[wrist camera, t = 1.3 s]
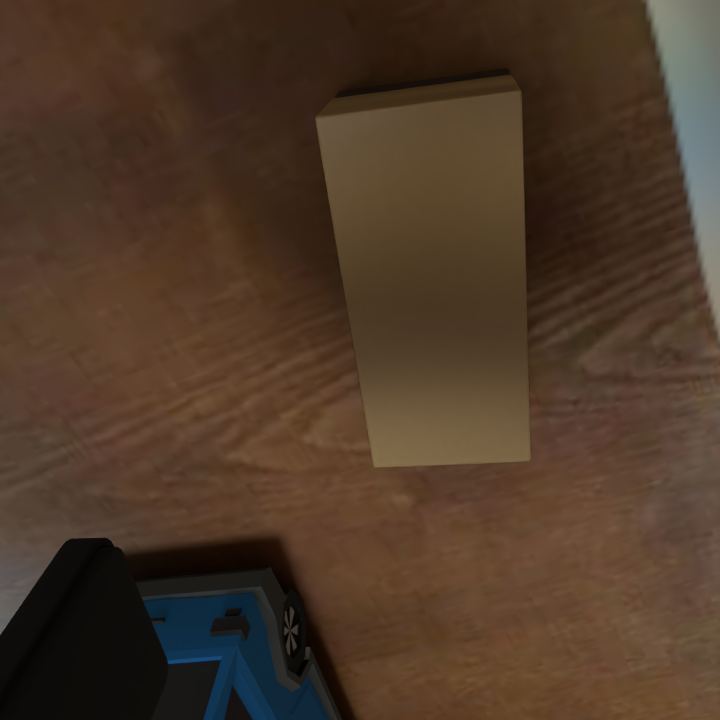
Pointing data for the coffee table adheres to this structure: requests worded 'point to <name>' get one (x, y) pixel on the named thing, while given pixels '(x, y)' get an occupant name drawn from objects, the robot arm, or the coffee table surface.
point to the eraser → (434, 264)
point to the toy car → (235, 649)
